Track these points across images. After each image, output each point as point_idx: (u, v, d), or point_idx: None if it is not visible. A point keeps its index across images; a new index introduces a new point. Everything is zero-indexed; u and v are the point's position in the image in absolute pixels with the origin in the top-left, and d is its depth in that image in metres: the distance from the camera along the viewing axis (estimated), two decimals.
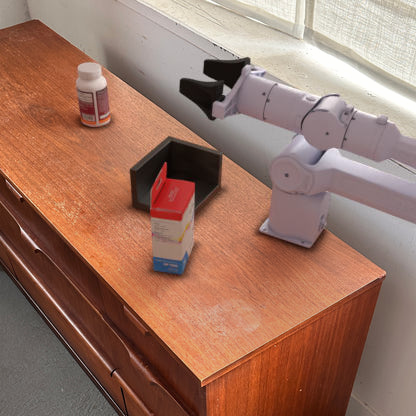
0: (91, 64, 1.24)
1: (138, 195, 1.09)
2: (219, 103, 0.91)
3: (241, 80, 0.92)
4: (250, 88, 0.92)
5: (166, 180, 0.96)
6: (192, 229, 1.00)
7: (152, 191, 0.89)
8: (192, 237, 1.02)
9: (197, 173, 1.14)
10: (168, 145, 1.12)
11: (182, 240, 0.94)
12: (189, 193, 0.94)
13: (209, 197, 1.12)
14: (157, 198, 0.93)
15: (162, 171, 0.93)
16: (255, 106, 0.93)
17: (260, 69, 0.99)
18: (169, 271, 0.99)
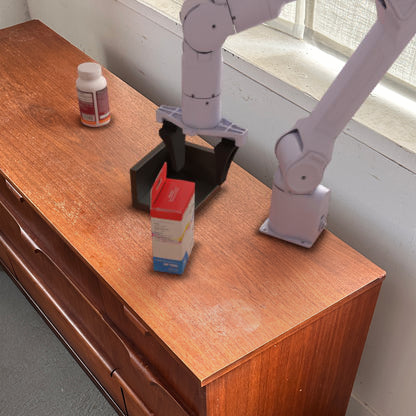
0: (91, 64, 1.24)
1: (138, 195, 1.09)
2: (238, 141, 0.91)
3: (202, 131, 0.90)
4: (205, 118, 0.89)
5: (166, 180, 0.96)
6: (192, 229, 1.00)
7: (152, 191, 0.89)
8: (192, 237, 1.02)
9: (197, 173, 1.14)
10: None
11: (182, 240, 0.94)
12: (189, 193, 0.94)
13: (209, 197, 1.12)
14: (157, 198, 0.93)
15: (162, 171, 0.93)
16: (218, 104, 0.89)
17: (160, 115, 0.94)
18: (169, 271, 0.99)
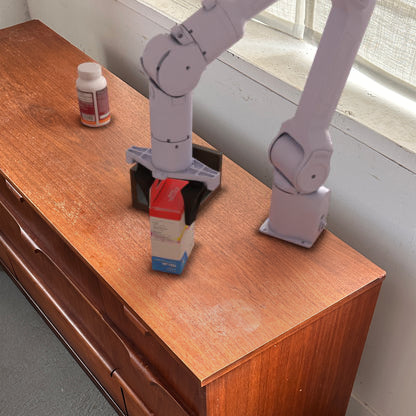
0: (91, 64, 1.24)
1: (138, 195, 1.09)
2: (210, 184, 0.87)
3: (172, 174, 0.87)
4: (176, 162, 0.86)
5: (167, 180, 0.96)
6: (192, 229, 1.00)
7: (151, 190, 0.89)
8: (192, 237, 1.02)
9: None
10: None
11: (181, 240, 0.94)
12: None
13: (209, 197, 1.12)
14: (157, 197, 0.93)
15: None
16: (188, 147, 0.86)
17: (129, 156, 0.91)
18: (168, 271, 0.99)
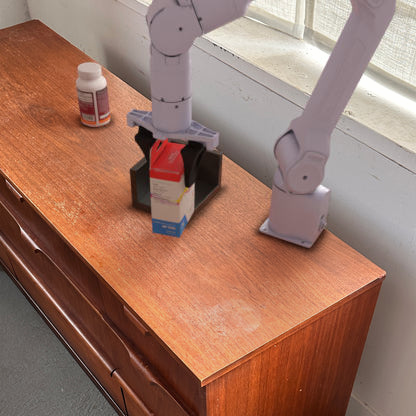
0: (91, 64, 1.24)
1: (138, 195, 1.09)
2: (209, 145, 0.90)
3: (172, 135, 0.90)
4: (176, 122, 0.89)
5: (168, 144, 0.98)
6: (192, 194, 1.03)
7: (151, 151, 0.92)
8: (192, 202, 1.04)
9: (197, 173, 1.14)
10: None
11: (180, 202, 0.97)
12: None
13: (209, 197, 1.12)
14: (157, 159, 0.95)
15: None
16: (188, 107, 0.88)
17: (130, 119, 0.93)
18: (167, 234, 1.01)
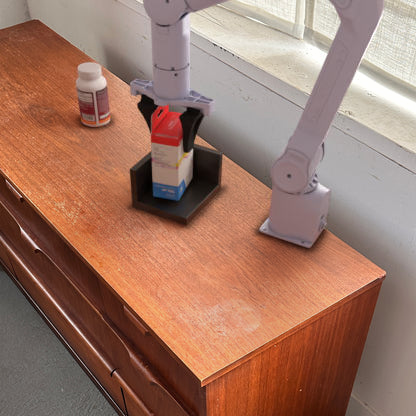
0: (91, 64, 1.24)
1: (138, 195, 1.09)
2: (206, 111, 0.97)
3: (172, 101, 0.97)
4: (175, 89, 0.96)
5: (168, 112, 1.06)
6: (190, 161, 1.10)
7: (153, 117, 0.99)
8: (190, 169, 1.11)
9: (197, 173, 1.14)
10: None
11: (179, 166, 1.04)
12: None
13: (209, 197, 1.12)
14: (158, 126, 1.03)
15: None
16: (187, 76, 0.96)
17: (133, 88, 1.01)
18: (167, 197, 1.09)
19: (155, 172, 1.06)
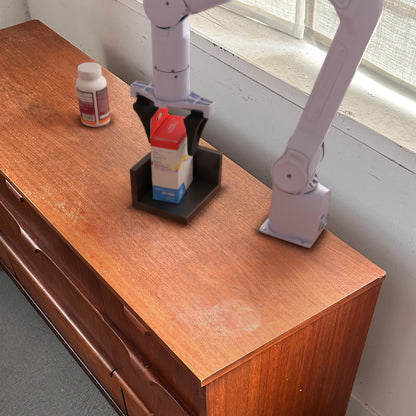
0: (91, 64, 1.24)
1: (138, 195, 1.09)
2: (206, 113, 0.97)
3: (172, 103, 0.97)
4: (175, 91, 0.96)
5: (168, 116, 1.06)
6: (190, 164, 1.11)
7: (152, 121, 1.00)
8: (190, 172, 1.12)
9: (197, 173, 1.14)
10: None
11: (178, 169, 1.05)
12: None
13: (209, 197, 1.12)
14: (157, 129, 1.03)
15: None
16: (187, 78, 0.96)
17: (134, 90, 1.01)
18: (167, 200, 1.09)
19: (155, 175, 1.06)
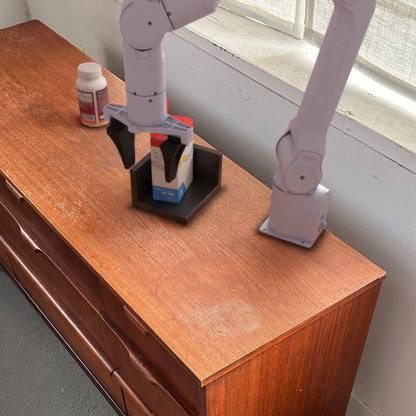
0: (91, 64, 1.24)
1: (138, 195, 1.09)
2: (183, 138, 0.91)
3: (147, 129, 0.91)
4: (150, 116, 0.90)
5: None
6: (190, 164, 1.11)
7: None
8: (190, 172, 1.12)
9: (197, 173, 1.14)
10: None
11: (178, 169, 1.05)
12: None
13: (209, 197, 1.12)
14: None
15: None
16: (162, 101, 0.89)
17: (107, 113, 0.94)
18: (167, 200, 1.09)
19: (155, 175, 1.06)
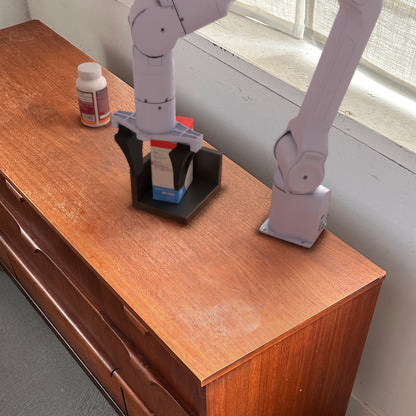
0: (91, 64, 1.24)
1: (138, 195, 1.09)
2: (193, 146, 0.89)
3: (156, 136, 0.89)
4: (159, 123, 0.88)
5: None
6: (190, 164, 1.11)
7: None
8: (190, 172, 1.12)
9: (197, 173, 1.14)
10: None
11: None
12: None
13: (209, 197, 1.12)
14: None
15: None
16: (172, 109, 0.88)
17: (115, 120, 0.93)
18: (167, 200, 1.09)
19: (155, 175, 1.06)
